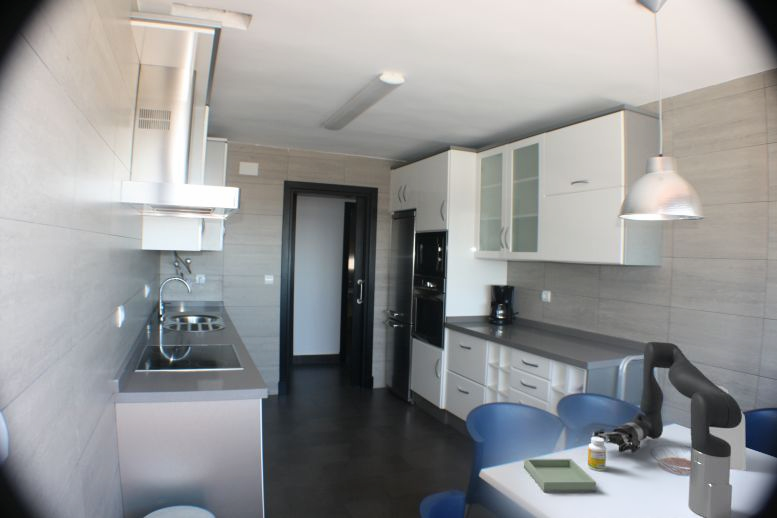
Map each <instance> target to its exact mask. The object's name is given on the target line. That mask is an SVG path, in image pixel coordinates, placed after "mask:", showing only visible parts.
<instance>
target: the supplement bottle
mask: <svg viewBox="0 0 777 518" xmlns="http://www.w3.org/2000/svg"><path fill="white" fill-rule="evenodd" d="M590 442H591V443H589V444H588V451H587V452H588V453H587V466H588V468H589V469H591V470H593V471H596V472H597V471H598V472H603V471H605V470H606V465H607V464H606V457H607V448H606V446H605V442H604V438H600V437H594V436H592V437H590Z"/></svg>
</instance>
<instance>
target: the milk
mask: <svg viewBox="0 0 777 518" xmlns="http://www.w3.org/2000/svg"><path fill="white" fill-rule="evenodd" d="M716 386H717V387H719V388H720V389H722V390H723V391H725V392H726V393H728V394H729V395H730V393H729V390H728V389H727V388H725V387H724V386H722V385H716ZM741 413H742V420H741V423H740V424H739V425H738V426H737V427H735V428H716V427H709V431H710V434H712V435H714V436H716V437H719V438H721V439H723V440H725V441H726V442H728V443H729V444H730V446H731V458H730V470H734V471H735V470H737V471H743V472H744V471H747V470H746V469H747V468H746V467H747V465H746V463H747V462H746V461H747V460H746V417H745V414H744V413H743V412H742V411H741Z"/></svg>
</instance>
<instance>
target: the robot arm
mask: <svg viewBox="0 0 777 518" xmlns="http://www.w3.org/2000/svg"><path fill="white" fill-rule="evenodd" d="M642 365H643V366H642V367H643V368H642V369H643V370H642V374H643V376H642V378H643V379H642V382H643V384H642V393H641V398H640V399H641V400H640V405H639V409H640V413H636V414H635V415H634V416H633V418H632V421H630V422H625V423H624V424H621V425H619V426H617V427H615V428H614V429H613V430H612V432H611V431H610V432H606V430H605V429H603V428H602V429H599V430H595V431H594V432H593V437H600V438H603V439H604V444H613V445H618V453H623V452H628V451H631V453H636V452H638V451H639V450H640V449H641V441H643V440H645V439H647V438H648V437H649V438H650V439H652V440H653V439H654V440H657V439H659V438H660V437H661V436H662V435H663V431H664V424H663V419H662V407H663V402H664V393H663V390H662V387H661V386H660V384H659V382H658V381H657V379H656V377H655V373H654V372H655V370H654V369H655V368H660V369H669V370H668V373H667V375H668V379H669V380H668V381H669V382H670V383H671V385H672V386H673V387H674V389H676V391H677V392H678V393H680V394H681V395H682V396H684V397H686V398H688V399H690V440H691V445H690V459H689V460H690V462H689V485H688V486H689V487H688V508H689V509H690V511H692V512H693V513H695V514H697V515H699V516H701V517H704V518H731V516H732V499H733V497H732V496H733V495H732V494H733V486H732V484H731V483H730V479H731V478H730V477H731V476H730V475H731V469H730V458H731V446H730V444H729V443H728V442H726V441H725V440H723V439H721V438H719V437H716V436H714V435H712V434H710V431H709V427H716V428H735V427H737V426H738V425H739V424H740V423H741V420H742V413H743V412H742V409H741V408H740V405H739V404H738V402H737V400H736V399H735V398H734V397H733V396H732V395H731V394H730V393H729V392H728V393H729V394H728V393H726V392H725V391H723V390H722V389H720V388H719V387H717V386H718V385H716V384H715V383H714V382H713V381H711V380H710V379H709V378H708V377H707V376H706V375H705V374H704V373H703V372H702V371H701V370H700V369H699V368H698V367H696V365H694V364H693V363H692V362H691V361H690V360H689V359H688V358H687V357H686V356H685V354H684V353H683V351H682V350H681V349H680V347H679V346H678V345H677V344H674V343H671V342H660V341H659V342H658V341H649V342H647V343H646V344H645V347H644V351H643V364H642ZM741 412H742V413H741Z"/></svg>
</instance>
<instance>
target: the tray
mask: <svg viewBox="0 0 777 518" xmlns="http://www.w3.org/2000/svg"><path fill="white" fill-rule="evenodd" d="M523 469H524V470H525V471H526V472H527V474H530V475H529V476H530V477H531V479H534V480H535V481H534V480H533V481H534V483H536V485H537V484H538V485H537V486H538V487H539V488H540V490H541V491H542V490H543V491H542V492H543V493H596V492H597V491H596V490H597V482H596V481H595V480H594V479H593V478H592V477H591V476H590V475H589V474H588V473H587V472H586V471H584V469H583V468H582V467H580V465H578V464H577V463H576V462H575V461H574V460H573V459H572V458H524V459H523Z"/></svg>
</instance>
